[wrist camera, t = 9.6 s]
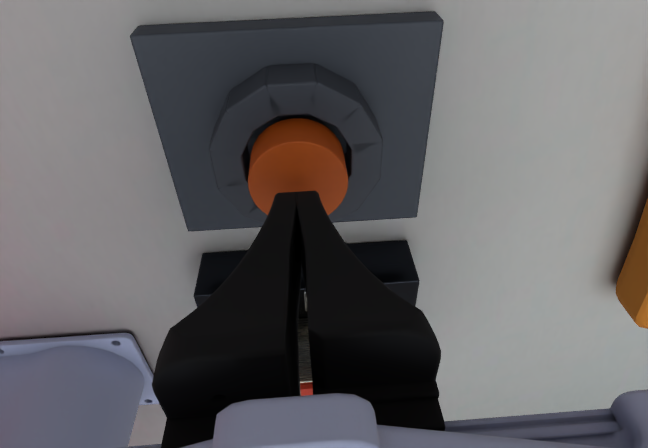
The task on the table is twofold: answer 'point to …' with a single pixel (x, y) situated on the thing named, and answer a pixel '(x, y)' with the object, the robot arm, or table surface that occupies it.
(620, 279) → the multimeter
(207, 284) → the dial panel
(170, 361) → the robot arm
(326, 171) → the button
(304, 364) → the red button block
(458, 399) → the table surface
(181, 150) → the button housing
